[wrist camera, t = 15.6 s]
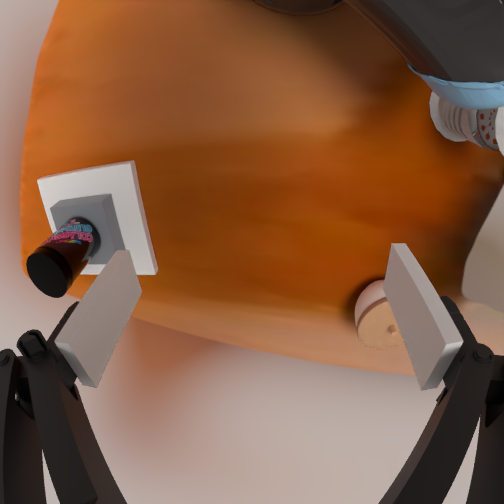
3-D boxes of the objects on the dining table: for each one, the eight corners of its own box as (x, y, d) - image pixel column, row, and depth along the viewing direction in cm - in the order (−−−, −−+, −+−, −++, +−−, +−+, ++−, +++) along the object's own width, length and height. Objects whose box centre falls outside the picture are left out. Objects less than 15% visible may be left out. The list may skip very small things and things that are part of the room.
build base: (42, 176, 41) (25, 187, 37) (134, 160, 39) (120, 169, 35) (72, 269, 50) (60, 283, 46) (158, 269, 49) (149, 286, 45)
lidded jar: (347, 321, 52) (357, 362, 44) (349, 272, 47) (362, 312, 39) (403, 312, 51) (419, 350, 43) (411, 264, 45) (433, 301, 37)
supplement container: (110, 236, 41) (74, 279, 32) (90, 262, 43) (57, 306, 34) (76, 205, 38) (34, 242, 29) (59, 234, 41) (21, 273, 32)
